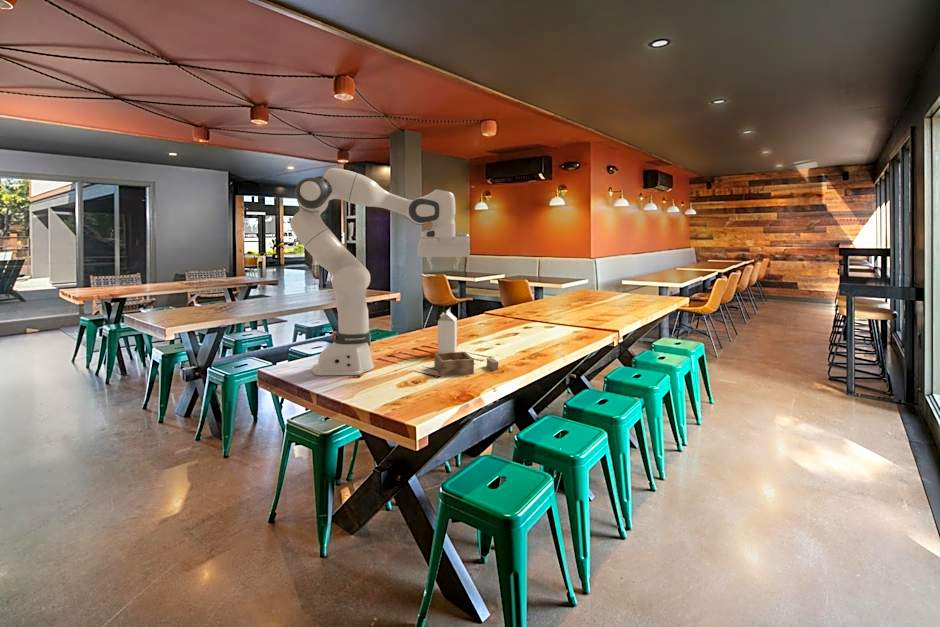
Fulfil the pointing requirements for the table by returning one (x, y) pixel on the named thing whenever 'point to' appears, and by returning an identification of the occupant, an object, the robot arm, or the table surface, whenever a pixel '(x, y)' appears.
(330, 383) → the table surface
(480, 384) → the table surface
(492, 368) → the lid
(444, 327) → the milk carton
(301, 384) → the table surface
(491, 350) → the table surface
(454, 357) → the walnut box
